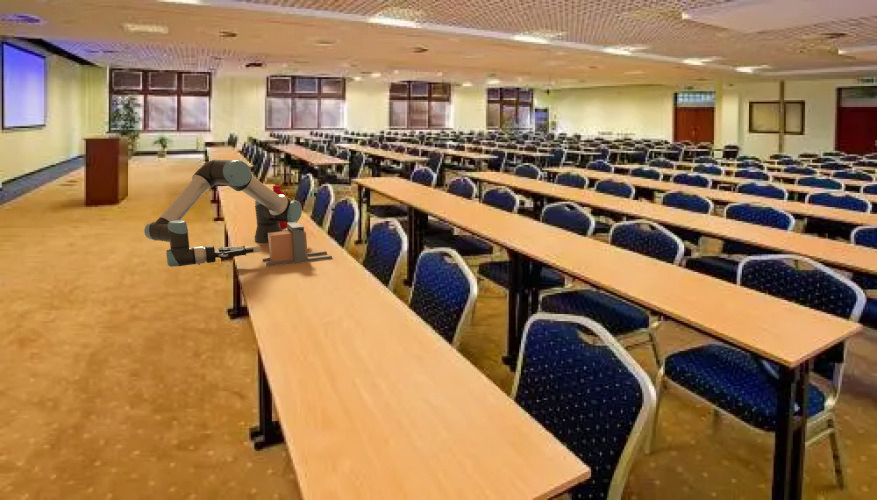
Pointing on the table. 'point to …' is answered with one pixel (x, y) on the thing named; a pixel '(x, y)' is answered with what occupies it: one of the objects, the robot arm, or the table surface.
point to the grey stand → (298, 247)
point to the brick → (282, 246)
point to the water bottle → (278, 191)
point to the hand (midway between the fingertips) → (260, 248)
